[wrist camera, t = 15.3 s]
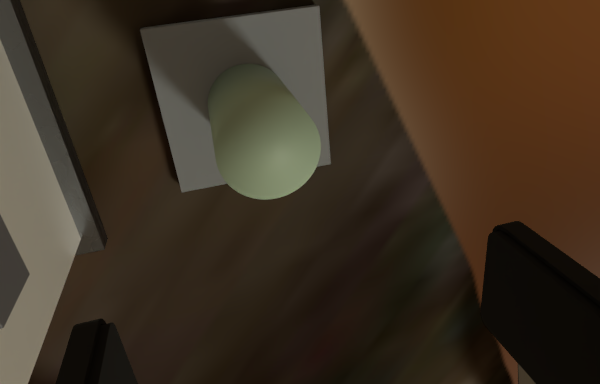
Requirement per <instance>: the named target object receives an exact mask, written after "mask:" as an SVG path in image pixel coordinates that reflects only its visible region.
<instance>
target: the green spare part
mask: <svg viewBox="0 0 600 384" xmlns="http://www.w3.org/2000/svg"><path fill="white" fill-rule="evenodd" d="M208 111H209V118H210V125H211V132H212V138H213V145H214V152H215V159H216V164H217V167H218V170H219V172H220V174H221V176H222V177H223V179H224V180H225V181H226V183H227V184H228V185H229V186H230V187H232V188H233V189H234V190H236V191H237V192H239V193H241V194H243V195H245V196H248V197H251V198H255V199H275V198H279V197H283V196H285V195H288V194H290V193H292V192H294V191H296V190H297V189H298V188H300V187H301V186H302V185H303V184H305V183H306V181H307V180H308V179H309V178H310V177H311V175H312V174H313V172H314V171H315V169H316V167H317V164H318V162H319V158H320V152H321V141H320V135H319V132H318V129H317V127H316V125H315V123H314V122H313V120H312V119H311V117H310V116H309V115H308V114H307V112H306V111H305V110H304V109H303V107H302V106H301V105H300V104H299V102H298V101H297V100H296V98H295V97H294V96H293V95H292V93H291V92H290V91H289V90H288V88H287V87H286V86H285V85H284V83H283V82H282V81H281V79H280V78H279V77H278V76H277V75H276V74H275V73H274V72H273V71H271V70H269V69H268V68H266V67H264V66H261V65H257V64H248V63H247V64H240V65H236V66H233V67H231V68H229V69H227V70H226V71H224V72H223V73H222V74H220V75H219V76H218V78H217V79H216V80H215V81H214V83H213V85H212V87H211V89H210V92H209V95H208Z"/></svg>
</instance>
